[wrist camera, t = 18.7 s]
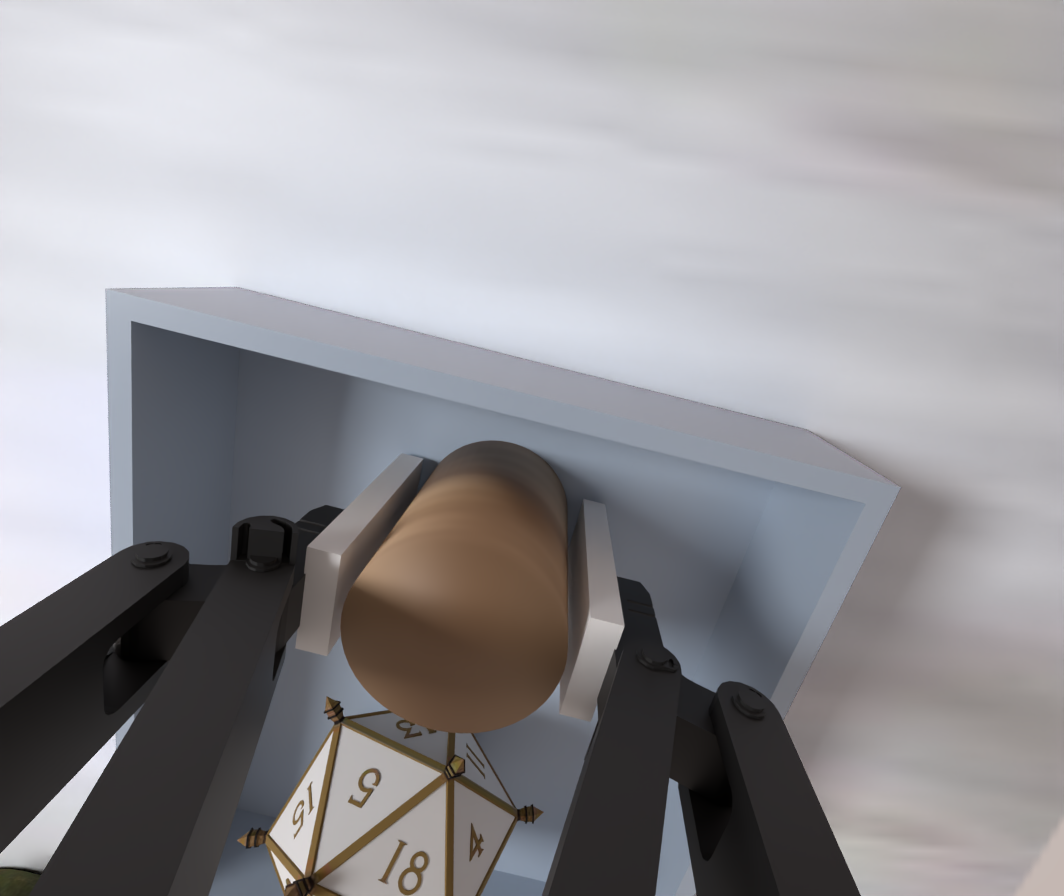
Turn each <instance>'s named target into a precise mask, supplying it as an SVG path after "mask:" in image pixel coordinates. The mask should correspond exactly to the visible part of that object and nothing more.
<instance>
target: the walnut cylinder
mask: <svg viewBox="0 0 1064 896" xmlns="http://www.w3.org/2000/svg"><path fill="white" fill-rule="evenodd" d="M340 631H341V641H342V646H343V650H344V654H345V656H346V659H347V661H348V664H349V666H350V668H351V670H352V671H353V673H354V675H355V677H356V678H357V680H358V681H359V682H360V684H361V685H362V686H363V688H364V689H365V690H366V691H367V692H368V693H369V694H370V695H371V696H372V697H373V698H374V699H375V700H376V701H378V702H379V703H380V704H381V705H382V706H384V707H385V708H387V709H388V710H389V711H391V712H392V713H394V714H396V715H398V716H399V717H401V718H403V719H405V720H407V721H409V722H412V723H414V724H417V725H419V726H422V727H426V728H429V729H432V730H437V731H443V732H450V733H480V732H488V731H492V730H496V729H501V728H504V727H506V726H509V725H512V724H514V723H516V722H518V721H520V720H522V719H524V718H526V717H527V716H529V715H530V714H532V713H533V712H535V711H536V710H537V709H538V708H539V707H540V706H542V705H543V704H544V703H545V702H546V701H547V699H548V698H549V697H550V696H551V695H552V693H553V692H554V690H555V689H556V687H557V685H558V684H559V682H560V680H561V677H562V675H563V672H564V670H565V665H566V661H567V653H568V509H567V499H566V495H565V491H564V488H563V486H562V483H561V481H560V479H559V478H558V476H557V474H556V473H555V471H554V470H553V469H552V467H551V466H550V465H549V464H548V463H547V462H546V461H545V460H544V459H542V458H541V457H540V456H539V455H537V454H536V453H534V452H532V451H531V450H529V449H527V448H525V447H523V446H520V445H517V444H514V443H510V442H505V441H495V440H489V441H479V442H474V443H471V444H468V445H465V446H462V447H460V448H458V449H456V450H455V451H453V452H452V453H450V454H449V455H447V456H446V457H445V458H444V459H443V460H442V461H441V462H440V463H439V464H438V465H437V467H436V468H435V469H434V471H433V472H432V473H431V475H430V476H429V478H428V479H427V481H426V482H425V483H424V485H423V486H422V488H421V489H420V490H419V492H418V493H417V495H416V496H415V497H414V499H413V500H412V502H411V503H410V505H409V506H408V507H407V509H406V510H405V512H404V513H403V514H402V516H401V517H400V519H399V520H398V521H397V523H396V524H395V526H394V527H393V529H392V530H391V531H390V533H389V534H388V536H387V537H386V538H385V540H384V541H383V543H382V544H381V545H380V547H379V548H378V550H377V551H376V553H375V554H374V555H373V557H372V558H371V560H370V561H369V562H368V564H367V565H366V567H365V568H364V569H363V571H362V572H361V574H360V575H359V576H358V578H357V579H356V581H355V582H354V584H353V586H352V587H351V589H350V591H349V592H348V595H347V597H346V600H345V602H344V606H343V610H342V614H341V625H340Z"/></svg>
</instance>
